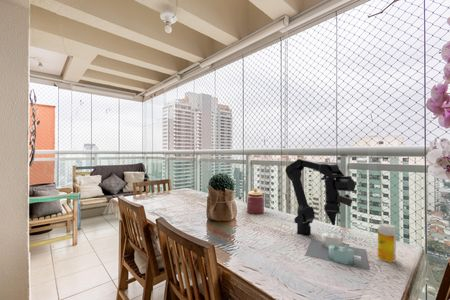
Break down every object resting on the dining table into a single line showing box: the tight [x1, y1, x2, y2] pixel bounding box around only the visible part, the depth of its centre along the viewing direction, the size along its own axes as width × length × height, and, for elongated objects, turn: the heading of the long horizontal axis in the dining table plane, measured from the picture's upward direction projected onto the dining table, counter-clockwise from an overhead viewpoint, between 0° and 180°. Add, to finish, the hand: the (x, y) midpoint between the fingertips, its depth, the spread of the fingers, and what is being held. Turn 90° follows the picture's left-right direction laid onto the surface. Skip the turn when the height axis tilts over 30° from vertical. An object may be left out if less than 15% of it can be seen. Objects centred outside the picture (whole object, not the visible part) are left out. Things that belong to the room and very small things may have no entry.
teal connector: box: [329, 245, 361, 266], centre depth 92 cm, size 12×4×5 cm, turn 61°
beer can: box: [377, 222, 397, 263], centre depth 94 cm, size 6×6×15 cm
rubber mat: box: [304, 239, 371, 271], centre depth 99 cm, size 24×20×1 cm
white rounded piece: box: [321, 232, 350, 247], centre depth 105 cm, size 12×4×5 cm, turn 61°
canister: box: [246, 188, 265, 215], centre depth 165 cm, size 13×13×18 cm
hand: (333, 222), depth 106 cm, fingers open, 9 cm apart
